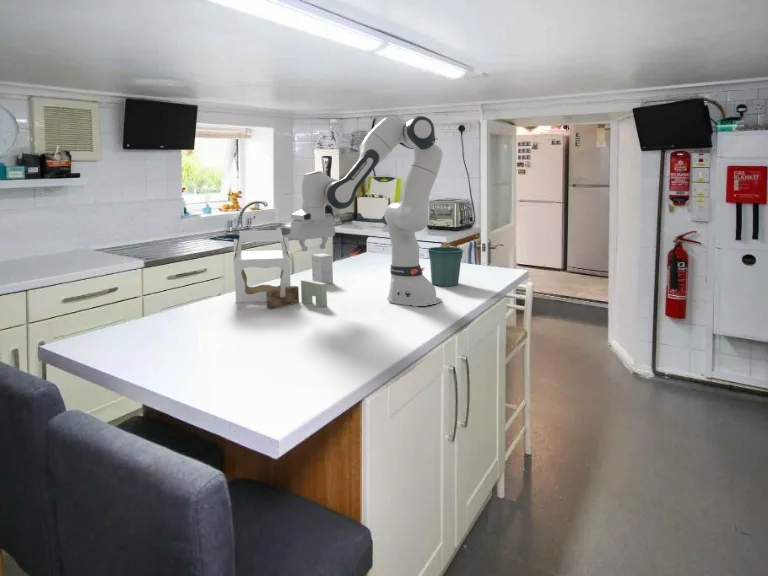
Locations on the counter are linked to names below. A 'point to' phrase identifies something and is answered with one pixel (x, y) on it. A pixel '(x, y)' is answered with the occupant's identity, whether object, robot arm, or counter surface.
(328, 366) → the counter surface
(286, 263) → the gable box
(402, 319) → the counter surface
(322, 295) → the crosspiece
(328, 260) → the small box
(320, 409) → the counter surface
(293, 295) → the upright
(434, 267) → the flower pot
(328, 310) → the counter surface
